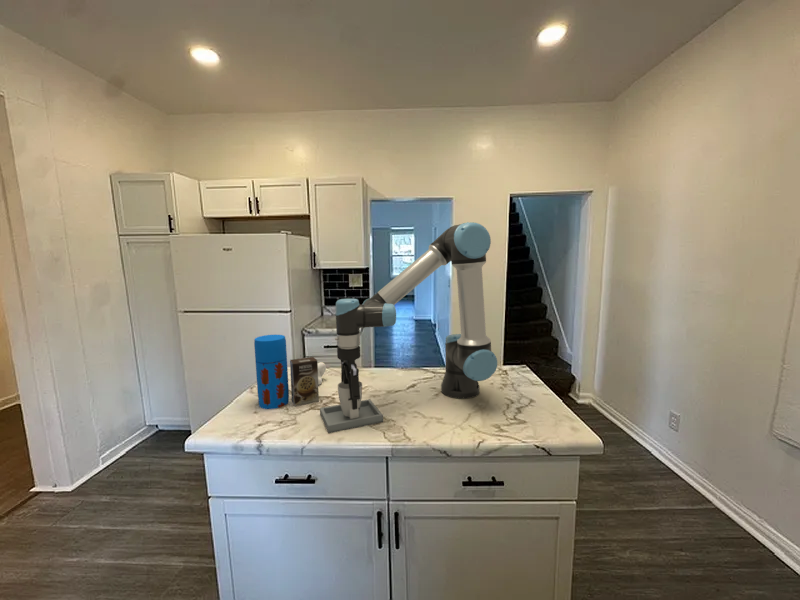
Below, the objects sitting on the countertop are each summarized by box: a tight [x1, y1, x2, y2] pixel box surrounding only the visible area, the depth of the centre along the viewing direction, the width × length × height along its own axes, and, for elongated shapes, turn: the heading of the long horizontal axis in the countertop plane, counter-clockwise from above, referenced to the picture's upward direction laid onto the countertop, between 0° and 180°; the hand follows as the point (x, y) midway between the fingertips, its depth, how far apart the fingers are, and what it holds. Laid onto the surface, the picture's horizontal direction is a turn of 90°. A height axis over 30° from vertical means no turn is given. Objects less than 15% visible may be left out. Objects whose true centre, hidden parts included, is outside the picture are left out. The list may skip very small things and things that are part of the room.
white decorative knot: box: [317, 361, 327, 386], centre depth 152 cm, size 11×12×9 cm
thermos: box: [253, 334, 290, 410], centre depth 130 cm, size 11×11×25 cm
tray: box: [319, 398, 384, 434], centre depth 119 cm, size 18×14×2 cm
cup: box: [337, 380, 363, 417], centre depth 118 cm, size 8×8×10 cm
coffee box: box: [289, 356, 320, 407], centre depth 132 cm, size 9×6×16 cm
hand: (351, 412), depth 119 cm, fingers closed on cup, 7 cm apart
